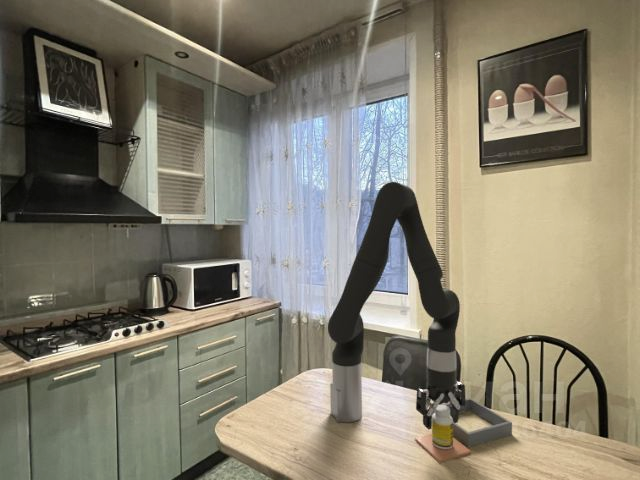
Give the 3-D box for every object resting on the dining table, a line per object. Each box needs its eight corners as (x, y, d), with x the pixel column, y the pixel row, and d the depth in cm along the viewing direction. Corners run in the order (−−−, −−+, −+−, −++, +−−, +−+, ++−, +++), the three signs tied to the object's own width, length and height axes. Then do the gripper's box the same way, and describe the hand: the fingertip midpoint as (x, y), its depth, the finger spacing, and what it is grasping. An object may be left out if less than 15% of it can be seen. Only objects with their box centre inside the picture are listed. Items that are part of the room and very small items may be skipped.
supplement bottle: (454, 451, 89) (454, 414, 89) (433, 448, 90) (432, 412, 90) (451, 439, 94) (451, 403, 94) (431, 437, 96) (430, 402, 96)
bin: (468, 447, 92) (468, 434, 92) (430, 417, 106) (430, 406, 106) (511, 434, 97) (511, 422, 97) (470, 408, 112) (470, 397, 112)
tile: (439, 462, 86) (439, 460, 86) (415, 440, 95) (415, 438, 95) (471, 453, 89) (471, 451, 89) (444, 432, 99) (444, 430, 99)
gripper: (453, 356, 98) (452, 412, 98) (410, 363, 93) (410, 422, 93) (473, 366, 91) (472, 426, 91) (428, 374, 86) (427, 438, 86)
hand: (441, 424), depth 92 cm, fingers open, 8 cm apart
